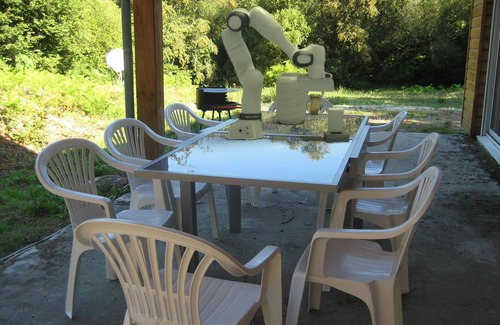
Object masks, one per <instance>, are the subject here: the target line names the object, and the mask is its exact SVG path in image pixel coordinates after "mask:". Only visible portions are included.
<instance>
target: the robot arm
mask: <svg viewBox="0 0 500 325" xmlns="http://www.w3.org/2000/svg"><path fill="white" fill-rule="evenodd" d="M225 22H226V25H227V27H226V28H224V29H223V30H222V32H221V33H220V34H221V40H222V44H223V45H224V48H225V50H226V53H227V56H228V57H229V59H230V61H231V63H232V65H233V69H234V71H235V74H236V76H237V78H238V81H239V84H241V86H242V95H241V102H240V103H241V111H240V112H237V113H236V115H237V118H238V119H237V120H236V121H235V122H232V123H231V124H230V126H229V129H228V133H227V134H224V139H226V138H227V139H226V140H236V139H246V140H247V141H249V140H250V141H252V140H253V141H254V140H258V139H262V138H264V137H265V136H264V132H263V126H262V121H263V114H262V101H261V100H262V94H263V93H262V92H263V86H264V85H263V84H264V81H265V79H264V75H263V73H262V71H261V70H259V69H257V68H255V65H254V63H253V60H252V55H251V53H250V51H249V48H248V47H247V44H246V41H244V38H243V36H242V31H244V30H245V29H248V28H249V27H252V28H254V29H255V30H256V31H257V32H258V33H259V34H260V35H261V36H262V37H264V39H266V40H268V41H269V42H270V43H271V42H272V43H273V44H275V45H277V47H279V48H280V50H282V52H283V53H285V54H286V55H287V57H288V58H289V63H290V64H291V65H292V66H293V67H294V68H297V69H302V68H306V67H307V74H306V73H304V74H300V75H298V76H297V82H298V83H297V90H298V91H306V101H308V100H309V101H310V98H311V97H310V92H318V93H319V92H320V93H321V94H320V95H321V96H320V97H319V101H322V100H323V97H324V95H325V93H326V92H328V93H332V92H334V91H335V85H334V84H335V83H334V79H333V74H331V73H329V72H327V71H325V62H326V49H325V47H324V46H323V45H322V44H317V43H311V44H309V45H308V46H306V47H304V48H301V49H300V48H298V47H296V46H295V45H294V44H293V43H292V42H291V41H290V40H289V39H288V37H287V36H286V35H285V33H284V32H283V28H282V26H281V25H280V23H279V21H278V20H276V18H275V17H274V16H273V15H272V14H271V13H269V12H268V11H267V10H266V9H264V8H263V7H262V6H259V5H257V6H254V7H252V8H251V9H250V10H248V9H247V8H245V7H241V6H239V7H237V8H235V9H233V10H232V11H230V13H229V14H227V17H226V21H225ZM246 140H245V141H246Z"/></svg>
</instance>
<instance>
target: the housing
mask: <svg viewBox="0 0 500 325" xmlns="http://www.w3.org/2000/svg"><path fill="white" fill-rule="evenodd" d="M322 133H323V134H322V137H323V138H324V139H325V140H324V141H325V142H326V143H350V134H349V133H348V132H346V131H345V130H343V131H328V130H327V131H325V130H324V131H323V132H322Z"/></svg>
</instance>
